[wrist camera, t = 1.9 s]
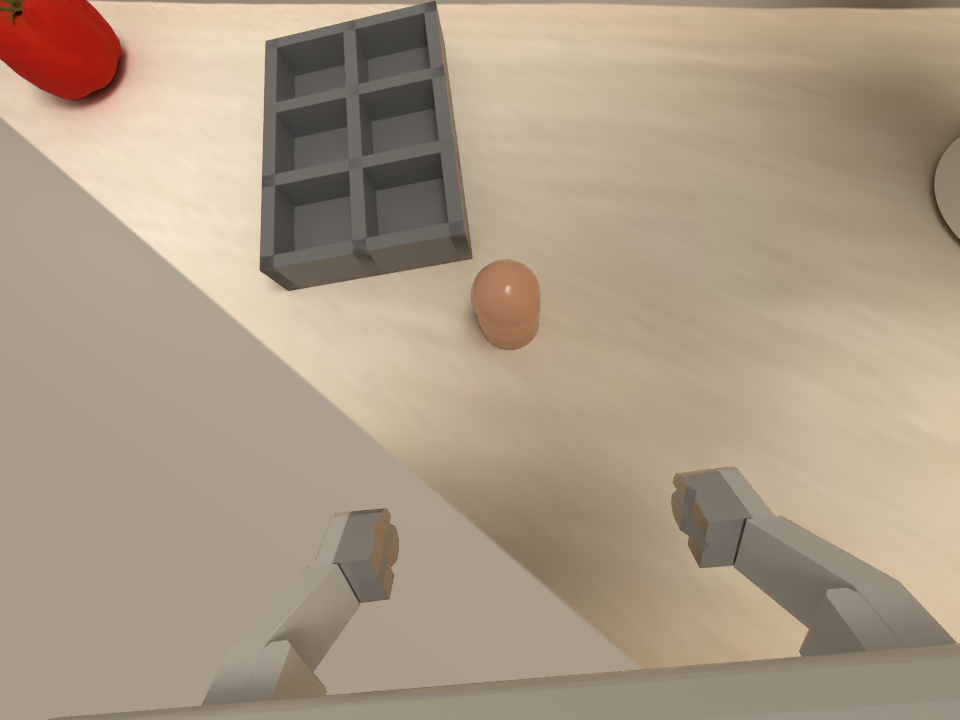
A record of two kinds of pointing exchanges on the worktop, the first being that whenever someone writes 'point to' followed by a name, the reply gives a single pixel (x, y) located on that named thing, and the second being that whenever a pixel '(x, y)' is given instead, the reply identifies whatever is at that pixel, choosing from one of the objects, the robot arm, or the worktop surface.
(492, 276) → the terracotta egg
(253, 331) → the worktop surface
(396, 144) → the egg carton
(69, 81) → the tomato
